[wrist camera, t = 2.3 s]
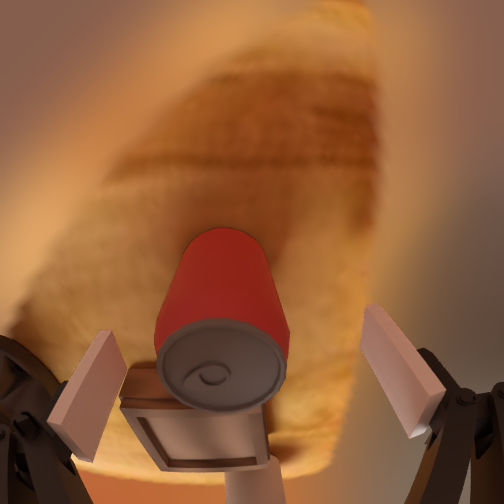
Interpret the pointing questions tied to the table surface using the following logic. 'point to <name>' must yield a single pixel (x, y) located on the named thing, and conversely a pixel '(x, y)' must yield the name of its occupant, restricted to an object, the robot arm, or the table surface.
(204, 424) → the walnut tray
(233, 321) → the beer can
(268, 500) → the can
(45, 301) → the table surface
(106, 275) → the table surface
